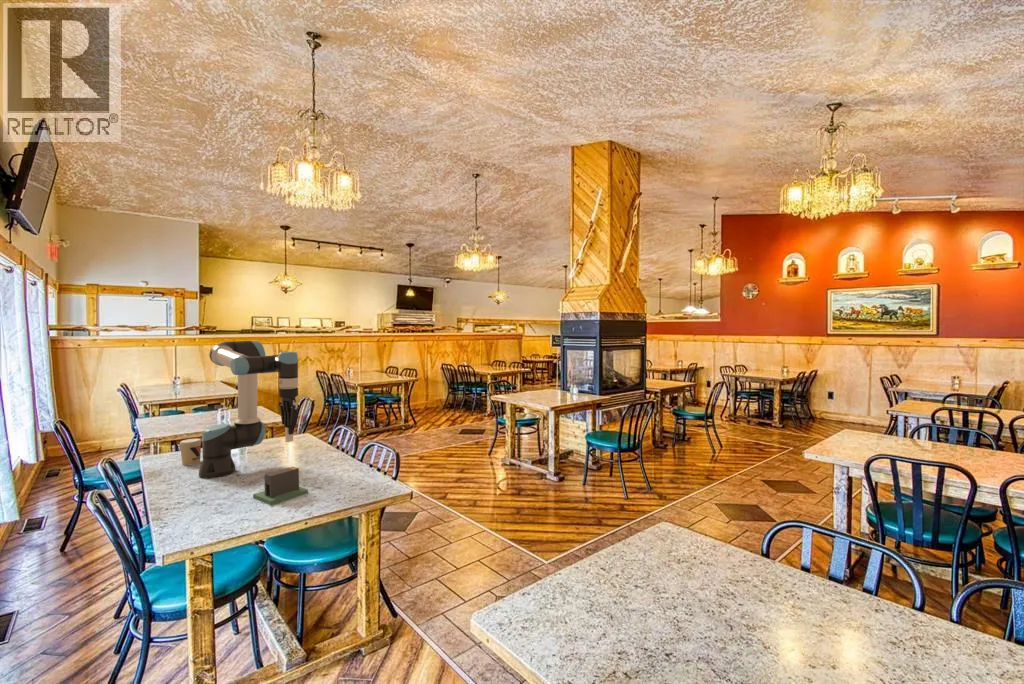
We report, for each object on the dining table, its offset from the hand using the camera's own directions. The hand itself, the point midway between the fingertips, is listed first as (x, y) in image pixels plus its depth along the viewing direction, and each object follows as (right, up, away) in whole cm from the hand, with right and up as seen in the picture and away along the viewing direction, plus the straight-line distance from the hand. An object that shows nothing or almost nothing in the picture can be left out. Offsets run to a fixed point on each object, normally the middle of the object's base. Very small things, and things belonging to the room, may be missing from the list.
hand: (289, 441), depth 198 cm
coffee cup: (-73, -21, +43) cm, 87 cm away
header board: (-1, -22, -5) cm, 22 cm away
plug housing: (0, -20, -6) cm, 21 cm away
